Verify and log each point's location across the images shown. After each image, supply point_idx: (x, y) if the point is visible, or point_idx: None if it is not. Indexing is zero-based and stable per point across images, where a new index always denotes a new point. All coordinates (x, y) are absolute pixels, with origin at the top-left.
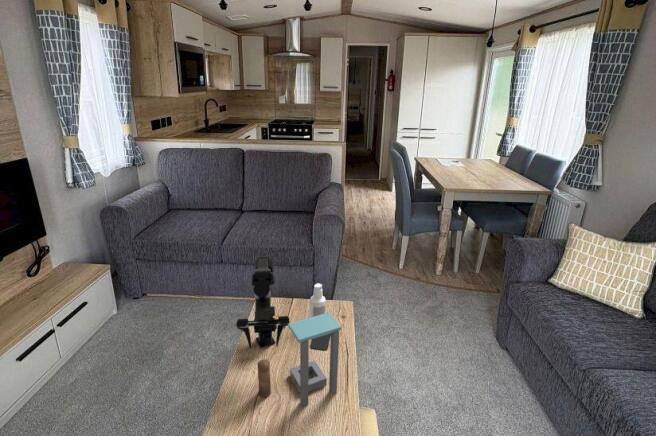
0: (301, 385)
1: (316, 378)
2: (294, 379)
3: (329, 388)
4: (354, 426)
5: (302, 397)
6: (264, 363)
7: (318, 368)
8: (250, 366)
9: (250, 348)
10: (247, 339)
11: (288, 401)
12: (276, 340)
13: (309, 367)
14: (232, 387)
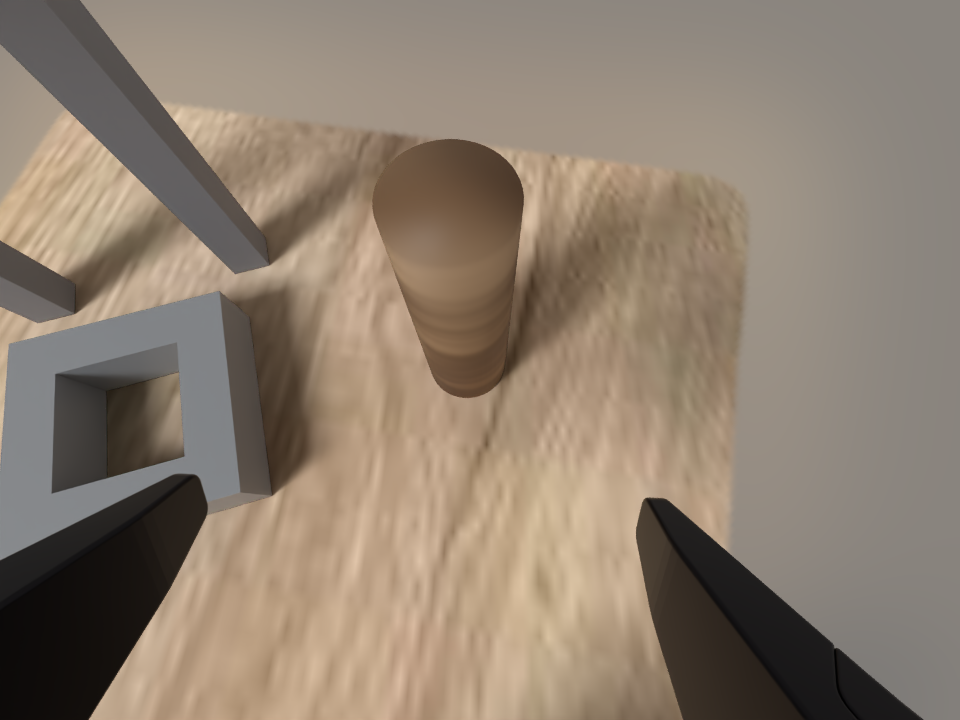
0: (178, 143)
1: (79, 351)
2: (245, 405)
3: (52, 299)
4: None
5: (232, 199)
6: (437, 196)
7: (13, 454)
8: (576, 667)
9: (652, 500)
10: (813, 627)
11: (334, 281)
12: (109, 530)
13: (80, 488)
14: (690, 448)
